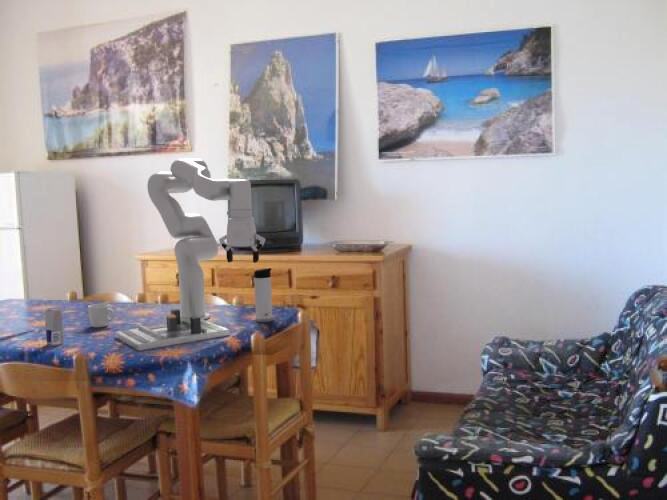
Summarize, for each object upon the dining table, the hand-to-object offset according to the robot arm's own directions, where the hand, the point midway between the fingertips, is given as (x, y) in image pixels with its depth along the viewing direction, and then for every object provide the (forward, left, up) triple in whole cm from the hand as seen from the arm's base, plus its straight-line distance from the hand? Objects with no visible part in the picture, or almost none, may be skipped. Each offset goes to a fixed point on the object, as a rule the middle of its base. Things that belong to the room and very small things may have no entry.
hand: (242, 262), depth 244 cm
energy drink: (-21, -61, -24) cm, 69 cm away
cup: (-39, -40, -24) cm, 61 cm away
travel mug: (-6, +11, -24) cm, 27 cm away
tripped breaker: (-5, -26, -22) cm, 34 cm away
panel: (-5, -26, -24) cm, 36 cm away
